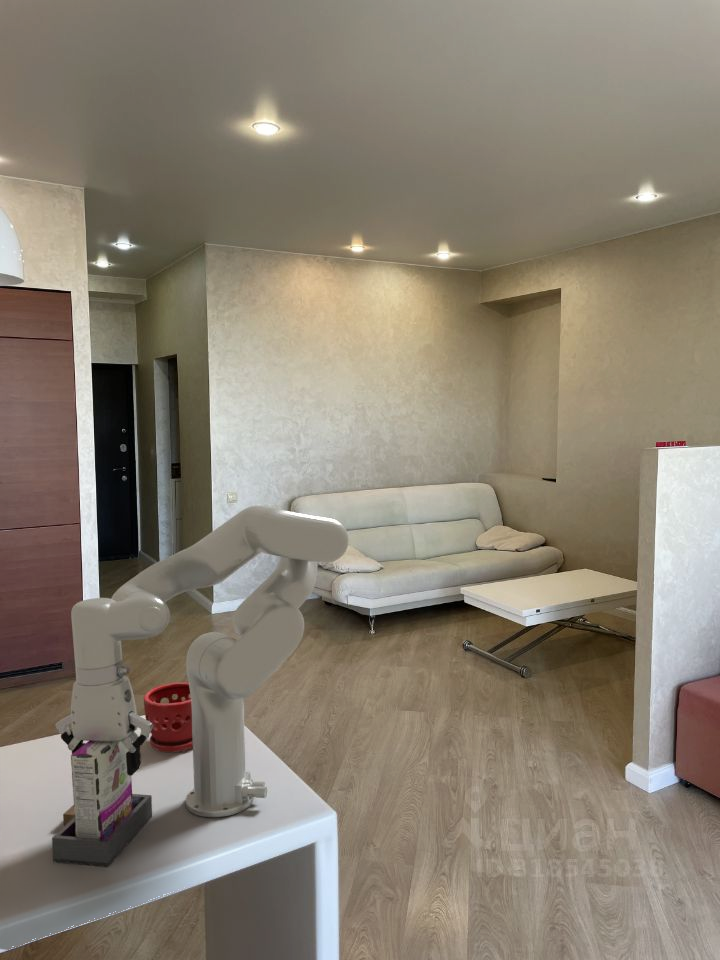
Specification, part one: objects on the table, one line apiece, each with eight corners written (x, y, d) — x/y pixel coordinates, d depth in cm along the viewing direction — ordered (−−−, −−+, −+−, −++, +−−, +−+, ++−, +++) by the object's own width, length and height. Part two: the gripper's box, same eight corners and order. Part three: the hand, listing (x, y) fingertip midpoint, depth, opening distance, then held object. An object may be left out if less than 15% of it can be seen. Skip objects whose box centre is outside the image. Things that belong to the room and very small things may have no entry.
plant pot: (144, 737, 169) (143, 685, 168) (203, 729, 173) (202, 679, 172) (146, 761, 156) (144, 705, 156) (209, 752, 160) (207, 698, 159)
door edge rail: (119, 785, 145) (118, 773, 145) (74, 828, 130) (73, 815, 129) (109, 785, 146) (109, 772, 146) (63, 828, 130) (63, 814, 130)
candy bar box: (108, 816, 132) (104, 726, 131) (134, 818, 132) (131, 728, 131) (73, 851, 121) (69, 753, 120) (101, 854, 121) (97, 755, 120)
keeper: (152, 816, 133) (151, 795, 133) (108, 866, 118) (107, 842, 118) (102, 813, 135) (102, 791, 135) (53, 861, 120) (52, 837, 119)
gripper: (157, 666, 127) (164, 762, 128) (65, 664, 130) (73, 758, 131) (137, 681, 120) (144, 783, 121) (39, 679, 123) (48, 779, 124)
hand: (107, 770), depth 126 cm, fingers open, 9 cm apart
